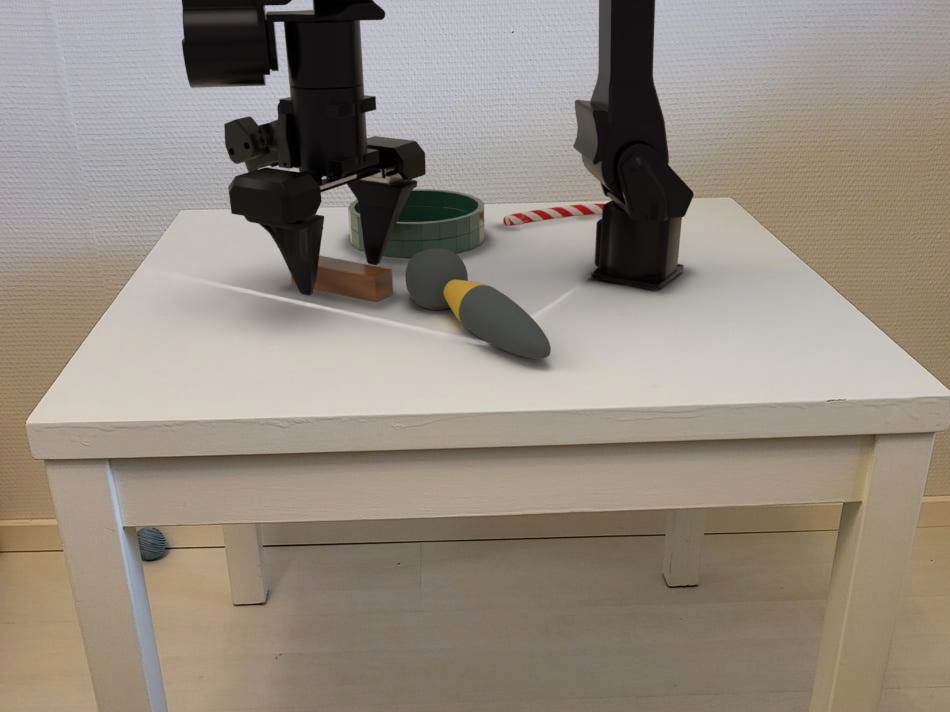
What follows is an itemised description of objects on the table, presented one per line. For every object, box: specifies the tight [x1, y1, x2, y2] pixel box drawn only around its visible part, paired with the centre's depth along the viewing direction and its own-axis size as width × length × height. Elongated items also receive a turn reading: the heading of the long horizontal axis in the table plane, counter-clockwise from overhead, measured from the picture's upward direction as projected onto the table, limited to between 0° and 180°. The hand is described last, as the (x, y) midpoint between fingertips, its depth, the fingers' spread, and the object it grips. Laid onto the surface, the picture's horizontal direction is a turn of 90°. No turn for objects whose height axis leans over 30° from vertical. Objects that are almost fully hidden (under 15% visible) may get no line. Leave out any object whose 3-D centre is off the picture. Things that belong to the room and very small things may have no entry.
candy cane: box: [502, 203, 605, 226], centre depth 103 cm, size 8×1×15 cm
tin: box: [347, 188, 485, 259], centre depth 97 cm, size 13×13×4 cm
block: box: [290, 255, 394, 303], centre depth 84 cm, size 9×2×2 cm, turn 59°
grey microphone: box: [404, 248, 552, 360], centre depth 76 cm, size 20×5×5 cm, turn 38°
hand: (341, 278), depth 84 cm, fingers open, 9 cm apart
